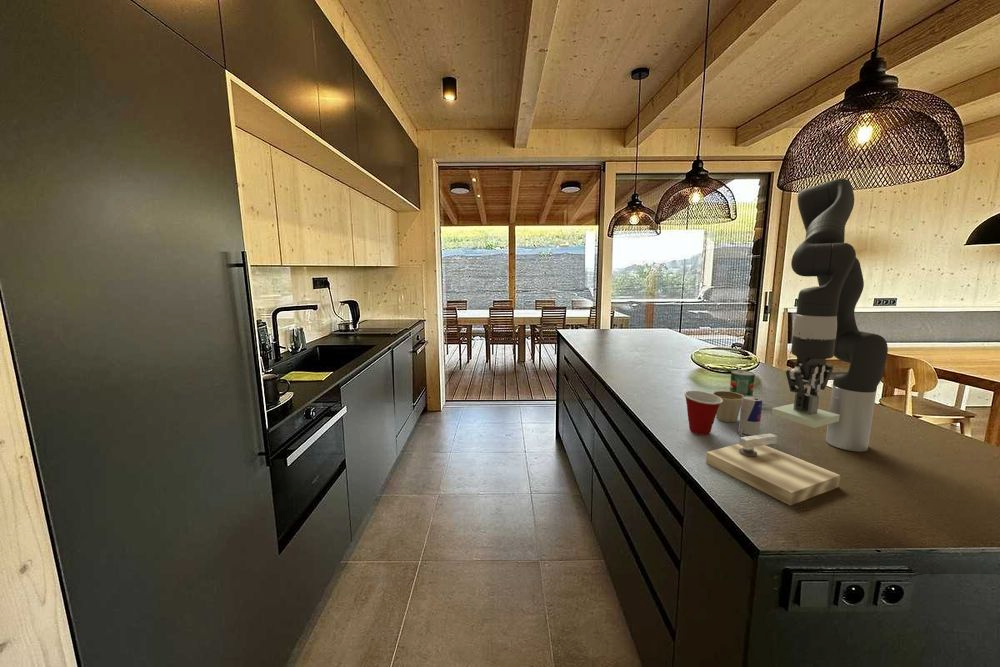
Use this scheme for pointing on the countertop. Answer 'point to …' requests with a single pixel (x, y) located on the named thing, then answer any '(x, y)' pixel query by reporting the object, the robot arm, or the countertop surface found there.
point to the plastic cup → (701, 411)
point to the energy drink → (750, 416)
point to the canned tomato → (742, 382)
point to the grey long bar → (757, 441)
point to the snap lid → (806, 413)
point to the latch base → (774, 472)
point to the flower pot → (728, 406)
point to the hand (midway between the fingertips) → (805, 409)
